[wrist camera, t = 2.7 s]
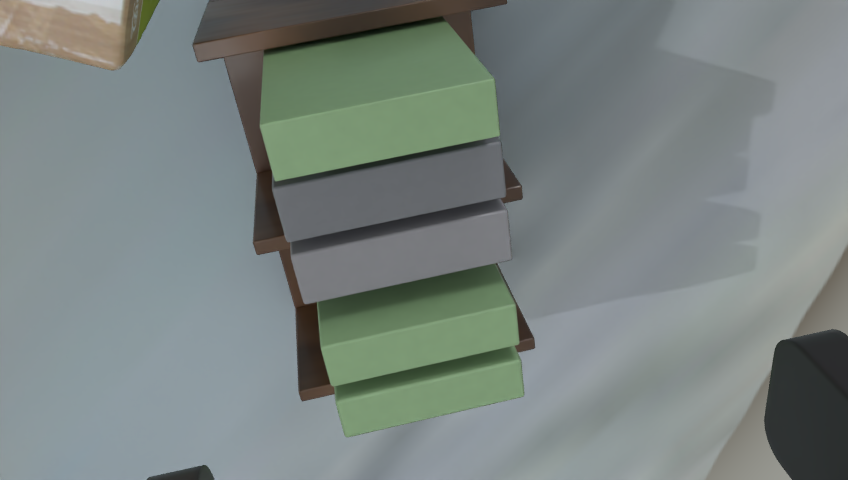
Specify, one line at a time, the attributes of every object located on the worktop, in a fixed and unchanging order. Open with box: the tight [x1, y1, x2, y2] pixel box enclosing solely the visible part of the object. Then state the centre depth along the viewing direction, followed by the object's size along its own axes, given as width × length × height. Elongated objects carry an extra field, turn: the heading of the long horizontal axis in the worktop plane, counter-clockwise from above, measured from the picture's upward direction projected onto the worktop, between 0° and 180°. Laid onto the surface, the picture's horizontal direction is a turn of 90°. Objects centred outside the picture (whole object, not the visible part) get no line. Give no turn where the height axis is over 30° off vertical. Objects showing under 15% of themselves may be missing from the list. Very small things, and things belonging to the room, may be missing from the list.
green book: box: [260, 16, 500, 181], centre depth 24 cm, size 6×2×12 cm, turn 98°
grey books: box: [272, 137, 512, 304], centre depth 26 cm, size 6×4×11 cm, turn 98°
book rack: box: [193, 0, 535, 401], centre depth 30 cm, size 10×15×7 cm, turn 8°
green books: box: [317, 263, 524, 437], centre depth 28 cm, size 6×4×12 cm, turn 98°
